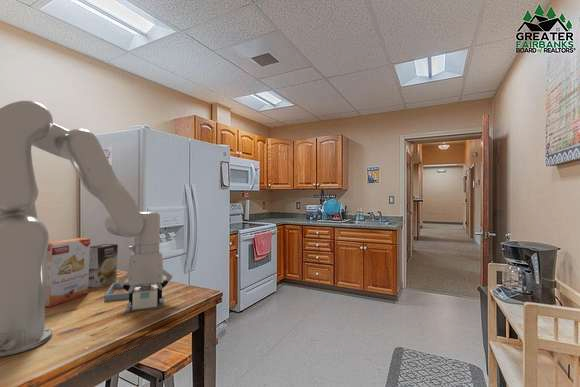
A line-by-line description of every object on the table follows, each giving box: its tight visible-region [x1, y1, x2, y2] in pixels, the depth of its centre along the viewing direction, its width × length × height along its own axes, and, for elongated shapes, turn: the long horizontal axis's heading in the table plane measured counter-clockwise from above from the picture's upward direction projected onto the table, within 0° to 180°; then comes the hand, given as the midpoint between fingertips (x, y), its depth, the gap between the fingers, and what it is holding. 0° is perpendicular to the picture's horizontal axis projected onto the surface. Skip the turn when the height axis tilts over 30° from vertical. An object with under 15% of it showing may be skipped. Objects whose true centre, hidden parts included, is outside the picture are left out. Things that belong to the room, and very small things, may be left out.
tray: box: [103, 281, 155, 303], centre depth 104 cm, size 14×14×3 cm
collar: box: [132, 284, 158, 310], centre depth 91 cm, size 9×7×5 cm
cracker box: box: [45, 237, 91, 308], centre depth 98 cm, size 14×6×21 cm, turn 168°
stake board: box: [123, 285, 165, 314], centre depth 92 cm, size 11×11×7 cm
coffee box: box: [88, 243, 119, 289], centre depth 116 cm, size 9×6×16 cm
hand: (145, 301), depth 92 cm, fingers closed on collar, 7 cm apart
